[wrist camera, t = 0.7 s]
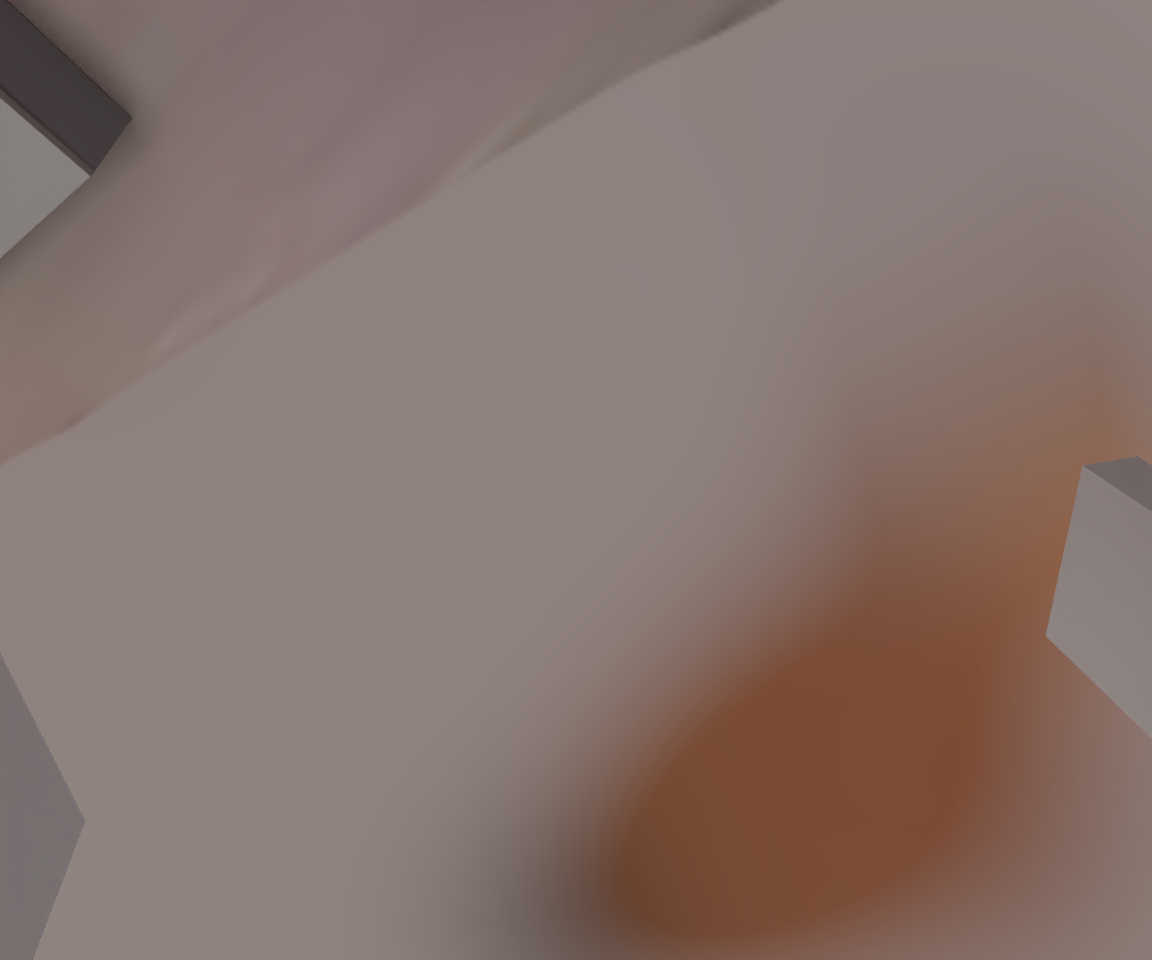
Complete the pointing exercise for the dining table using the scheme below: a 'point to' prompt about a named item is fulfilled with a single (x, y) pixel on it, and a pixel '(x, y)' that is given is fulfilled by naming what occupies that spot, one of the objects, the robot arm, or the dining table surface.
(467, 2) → the dining table surface
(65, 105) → the block
